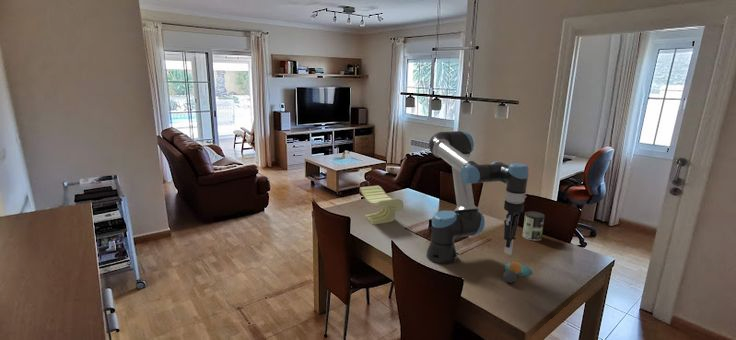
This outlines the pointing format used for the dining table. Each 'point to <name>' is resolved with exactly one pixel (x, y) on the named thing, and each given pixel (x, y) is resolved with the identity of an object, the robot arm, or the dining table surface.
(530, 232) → the coffee can
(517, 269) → the orange ball
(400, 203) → the slatted curved stool
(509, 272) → the charcoal ball
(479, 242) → the dining table surface
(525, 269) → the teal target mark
